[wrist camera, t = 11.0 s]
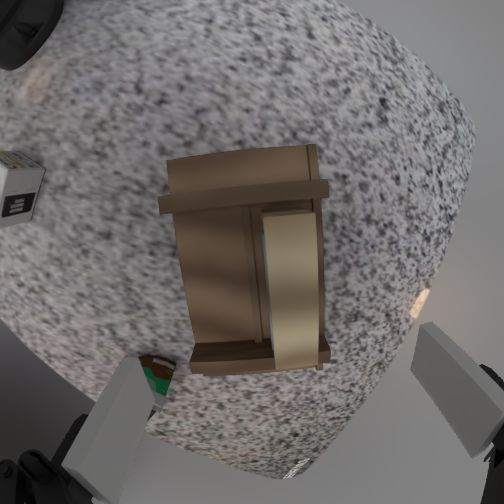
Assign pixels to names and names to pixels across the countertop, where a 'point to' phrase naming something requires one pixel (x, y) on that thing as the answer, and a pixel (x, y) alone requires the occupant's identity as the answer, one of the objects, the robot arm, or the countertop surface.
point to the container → (18, 187)
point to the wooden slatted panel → (237, 248)
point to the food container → (157, 378)
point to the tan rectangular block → (291, 284)
